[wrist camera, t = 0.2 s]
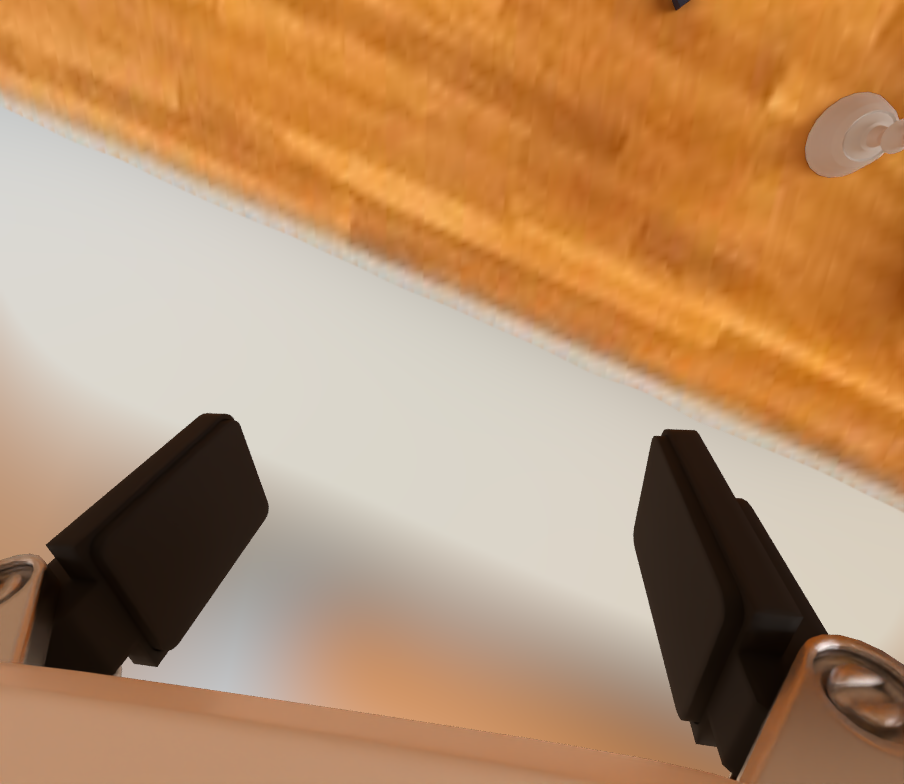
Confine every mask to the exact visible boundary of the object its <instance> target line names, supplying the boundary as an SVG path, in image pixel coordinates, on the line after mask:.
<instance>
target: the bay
mask: <svg viewBox="0 0 904 784" xmlns="http://www.w3.org/2000/svg"><path fill="white" fill-rule="evenodd" d="M688 1H690V0H672V2H673V5H674V7H675V10H678V9H679V8H680V7H682V6H683V5H684V4H686V3H687V2H688Z"/></svg>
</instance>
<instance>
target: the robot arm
mask: <svg viewBox="0 0 904 784" xmlns="http://www.w3.org/2000/svg"><path fill="white" fill-rule="evenodd" d="M268 507H269V506H268V501H267V499H266V496H265V493H264V490H263V488H262V485H261V482H260V479H259V477H258V474H257V471H256V468H255V465H254V463H253V460H252V457H251V454H250V451H249V449H248V446H247V443H246V440H245V438H244V435H243V432H242V429H241V426H240V424H239V423H238V422H237V421H235V420H234V419H233V417H232V416H231V415H228V414H212V413H206V414H202V415H200V416H199V417H198V418H196V419H195V420H194V421H193V422H192V423H191V424H189V425H188V426H187V427H186V428H184V429H183V430H182V431H181V432H180V433H178V434H177V435H176V436H175V437H174V438H173V439H171V440H170V441H169V442H168V443H166V444H165V445H164V446H163V447H162V448H160V449H159V450H158V451H157V452H156V453H155V454H153V455H152V456H151V457H150V458H149V459H147V460H146V461H145V462H144V463H143V464H142V465H140V466H139V467H138V468H137V469H135V470H134V471H133V472H132V473H131V474H130V475H128V476H127V477H126V478H125V479H124V480H122V481H121V482H120V483H119V484H118V485H117V486H115V487H114V488H113V489H112V490H110V491H109V492H108V493H107V494H106V495H105V496H103V497H102V498H101V499H100V500H99V501H97V502H96V503H95V504H94V505H93V506H91V507H90V508H89V509H88V510H87V511H85V512H84V513H83V514H82V515H81V516H80V517H78V518H77V519H76V520H75V521H73V522H72V523H71V524H70V525H69V526H68V527H66V528H65V529H64V530H63V531H62V532H60V533H59V534H58V535H57V536H56V537H54V538H53V539H52V540H51V541H50V542H49V543H48V544H46V546H47V547H48V549H49V550H50V551H51V553H52V554H53V555H54V557H55V559H53V560H52V561H51V562H50V563H49V564H48V565H47V564H46V562H45V561H44V560H43V559H42V558H41V557H40V556H38V555H33V554H24V555H16V556H13V557H10V558H6V559H3V560H0V784H904V665H903V664H902V663H900V662H899V661H897V660H895V659H894V658H892V657H891V656H889V655H888V654H886V653H885V652H883V651H882V650H880V649H877V648H875V647H873V646H871V645H869V644H866V643H864V642H862V641H860V640H856V639H852V638H849V637H845V636H841V635H828V633H827V631H826V630H825V628H824V627H823V625H822V623H821V621H820V620H819V618H818V617H817V615H816V613H815V612H814V610H813V608H812V606H811V605H810V603H809V601H808V600H807V598H806V597H805V595H804V593H803V591H802V590H801V588H800V587H799V585H798V583H797V582H796V580H795V578H794V577H793V575H792V573H791V572H790V570H789V568H788V567H787V565H786V563H785V562H784V560H783V558H782V557H781V555H780V553H779V552H778V550H777V548H776V547H775V545H774V543H773V542H772V540H771V538H770V537H769V535H768V533H767V532H766V530H765V528H764V527H763V525H762V523H761V522H760V520H759V518H758V517H757V515H756V513H755V512H754V510H753V509H752V507H751V506H750V505H749V503H748V502H747V501H745V500H744V499H742V498H735V496H734V495H733V493H732V491H731V489H730V488H729V486H728V484H727V482H726V481H725V479H724V477H723V475H722V474H721V472H720V470H719V468H718V467H717V465H716V463H715V462H714V460H713V458H712V456H711V454H710V453H709V451H708V449H707V447H706V446H705V444H704V442H703V440H702V439H701V437H700V435H699V434H698V432H697V431H695V430H672V429H666V430H664V431H663V433H662V435H661V436H654V437H653V438H652V442H651V446H650V452H649V456H648V461H647V466H646V471H645V476H644V481H643V486H642V491H641V496H640V501H639V506H638V511H637V516H636V521H635V526H634V535H633V536H634V546H635V550H636V554H637V558H638V562H639V566H640V570H641V574H642V578H643V582H644V585H645V589H646V593H647V597H648V601H649V605H650V609H651V613H652V617H653V621H654V625H655V629H656V633H657V636H658V640H659V644H660V648H661V652H662V656H663V660H664V664H665V668H666V672H667V676H668V680H669V683H670V687H671V691H672V695H673V699H674V703H675V707H676V710H677V713H678V716H679V717H680V719H681V720H684V721H690V724H691V727H692V731H693V735H694V739H695V742H696V744H701V745H707V746H714V747H717V749H718V752H719V755H720V758H721V761H722V765H724V766H725V767H726V768H727V769H728V770H729V771H730V772H731V773H730V775H729V778H726V777H722V776H719V775H716V774H713V773H708V772H704V771H700V770H695V769H691V768H687V767H682V766H678V765H673V764H669V763H664V762H660V761H656V760H651V759H646V758H640V757H634V756H629V755H623V754H617V753H611V752H606V751H599V750H594V749H588V748H583V747H577V746H571V745H565V744H560V743H553V742H548V741H542V740H537V739H530V738H523V737H517V736H511V735H505V734H498V733H492V732H485V731H479V730H472V729H466V728H459V727H452V726H446V725H439V724H434V723H427V722H421V721H414V720H408V719H401V718H395V717H388V716H382V715H375V714H369V713H362V712H355V711H348V710H342V709H335V708H328V707H322V706H315V705H309V704H301V703H295V702H288V701H282V700H275V699H268V698H262V697H255V696H248V695H241V694H235V693H228V692H221V691H214V690H208V689H201V688H194V687H187V686H180V685H173V684H165V683H158V682H152V681H145V680H138V679H131V678H124V677H121V671H122V667H121V665H122V664H123V662H124V661H125V660H126V658H127V657H128V656H129V658H130V659H131V660H132V662H133V663H134V664H140V665H147V666H155V667H158V665H159V664H160V662H161V661H162V659H163V658H164V657H165V655H166V654H167V652H168V651H169V650H172V649H173V648H174V647H176V646H177V645H178V644H179V642H180V641H181V639H182V638H183V637H184V635H185V634H186V632H187V631H188V630H189V628H190V627H191V625H192V624H193V622H194V621H195V619H196V618H197V617H198V615H199V614H200V612H201V611H202V609H203V608H204V607H205V605H206V603H207V602H208V601H209V599H210V598H211V596H212V595H213V593H214V592H215V591H216V589H217V588H218V586H219V585H220V583H221V582H222V581H223V579H224V578H225V576H226V575H227V573H228V572H229V571H230V569H231V568H232V566H233V565H234V563H235V562H236V560H237V559H238V557H239V556H240V555H241V553H242V552H243V550H244V549H245V548H246V546H247V545H248V543H249V542H250V540H251V539H252V537H253V536H254V535H255V533H256V532H257V530H258V529H259V527H260V526H261V525H262V523H263V522H264V520H265V519H266V517H267V514H268V509H269V508H268Z"/></svg>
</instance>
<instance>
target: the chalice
mask: <svg viewBox="0 0 904 784" xmlns="http://www.w3.org/2000/svg"><path fill="white" fill-rule="evenodd" d="M903 149H904V119H901V120H899V117H898V114H897V112H896V110H895V109H894V108H893V107H892V106H891V105H890V104H889V103H888V102H887V101H886V100H885V99H884V98H883V97H882V96H881V95H878V94H874V93H871V92H863V93H854V94H852V95H849V96H847V97H844V98H842V99H840V100H839V101H837V102H836V103H834V104H833V105H831V106H830V107H829V108H827V109H826V110H825V111H824V113H823V114H822V115H821V116H820V117H819V118H818V119H817V120H816V122H815V124H814V125H813V127H812V129H811V131H810V132H809V135H808V138H807V142H806V146H805V152H806V160H807V162H808V164H809V167H810V168H811V169H812V170H813V171H814V172H816V173H817V174H818V175H821V176H825V177H829V178H830V177H842V176H845V175H848V174H850V173H853V172H855V171H857V170H859V169H860V168H863V167H864V166H866V165H868V164H870V163H872V162H873V161H875V160H876V159H878V158H880V157H881V156H882V155H883V154H884V153H888V154H893V153H897V152H900V151H902V150H903Z"/></svg>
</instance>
